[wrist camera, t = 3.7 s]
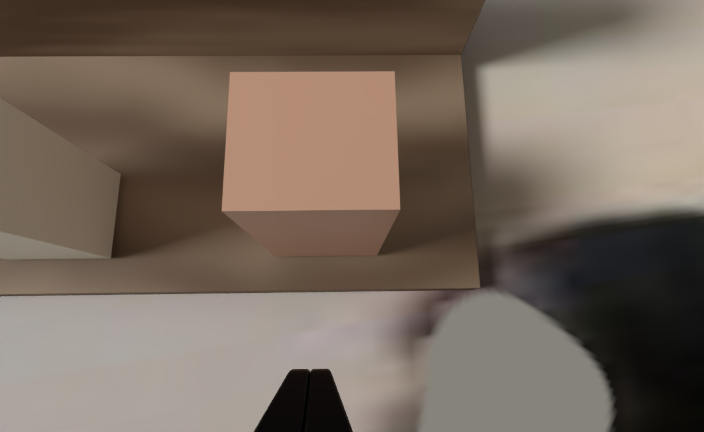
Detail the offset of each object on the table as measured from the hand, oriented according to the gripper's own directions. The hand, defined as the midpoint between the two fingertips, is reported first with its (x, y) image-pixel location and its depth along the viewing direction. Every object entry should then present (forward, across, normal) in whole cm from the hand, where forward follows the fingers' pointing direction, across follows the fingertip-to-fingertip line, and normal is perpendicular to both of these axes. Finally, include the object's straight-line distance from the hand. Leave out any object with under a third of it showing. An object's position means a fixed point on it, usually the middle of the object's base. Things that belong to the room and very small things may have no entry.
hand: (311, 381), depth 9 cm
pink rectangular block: (+11, 0, +3) cm, 11 cm away
